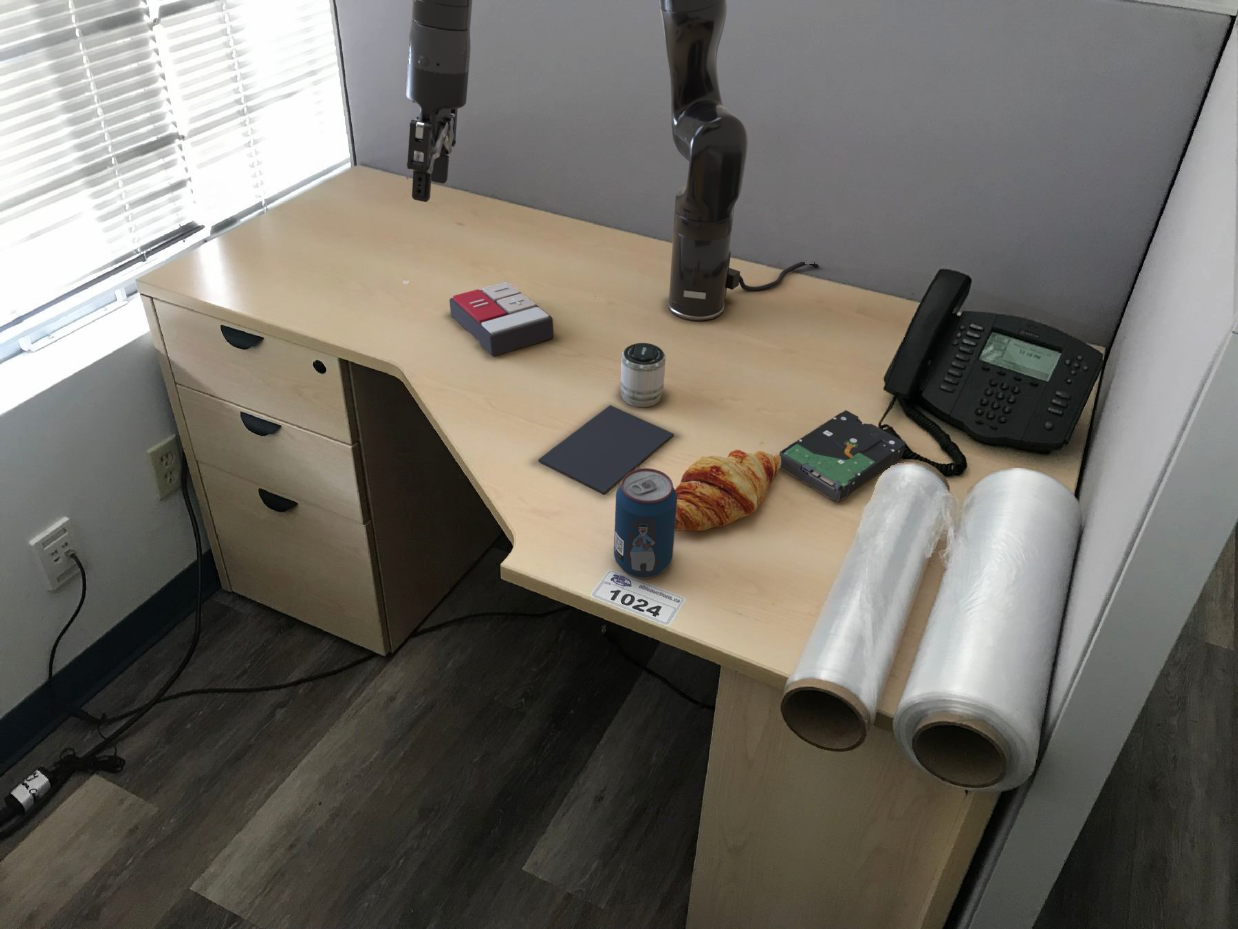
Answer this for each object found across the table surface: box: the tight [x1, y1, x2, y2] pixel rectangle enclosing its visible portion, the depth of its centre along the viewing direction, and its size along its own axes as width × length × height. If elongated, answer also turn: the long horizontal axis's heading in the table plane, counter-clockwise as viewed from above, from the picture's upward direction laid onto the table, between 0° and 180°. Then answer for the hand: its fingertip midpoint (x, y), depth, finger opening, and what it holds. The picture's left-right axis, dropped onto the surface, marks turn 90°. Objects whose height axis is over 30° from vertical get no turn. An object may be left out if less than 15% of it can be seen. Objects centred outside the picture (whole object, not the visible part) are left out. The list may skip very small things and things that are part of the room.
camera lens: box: [620, 342, 667, 408], centre depth 142 cm, size 6×6×8 cm
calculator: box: [449, 281, 554, 357], centre depth 157 cm, size 11×4×15 cm
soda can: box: [613, 467, 677, 579], centre depth 113 cm, size 7×7×12 cm
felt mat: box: [537, 404, 675, 495], centre depth 134 cm, size 16×11×1 cm
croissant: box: [674, 449, 781, 532], centre depth 124 cm, size 21×10×8 cm, turn 133°
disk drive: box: [778, 409, 907, 502], centre depth 132 cm, size 10×3×15 cm
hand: (429, 190), depth 131 cm, fingers open, 8 cm apart
